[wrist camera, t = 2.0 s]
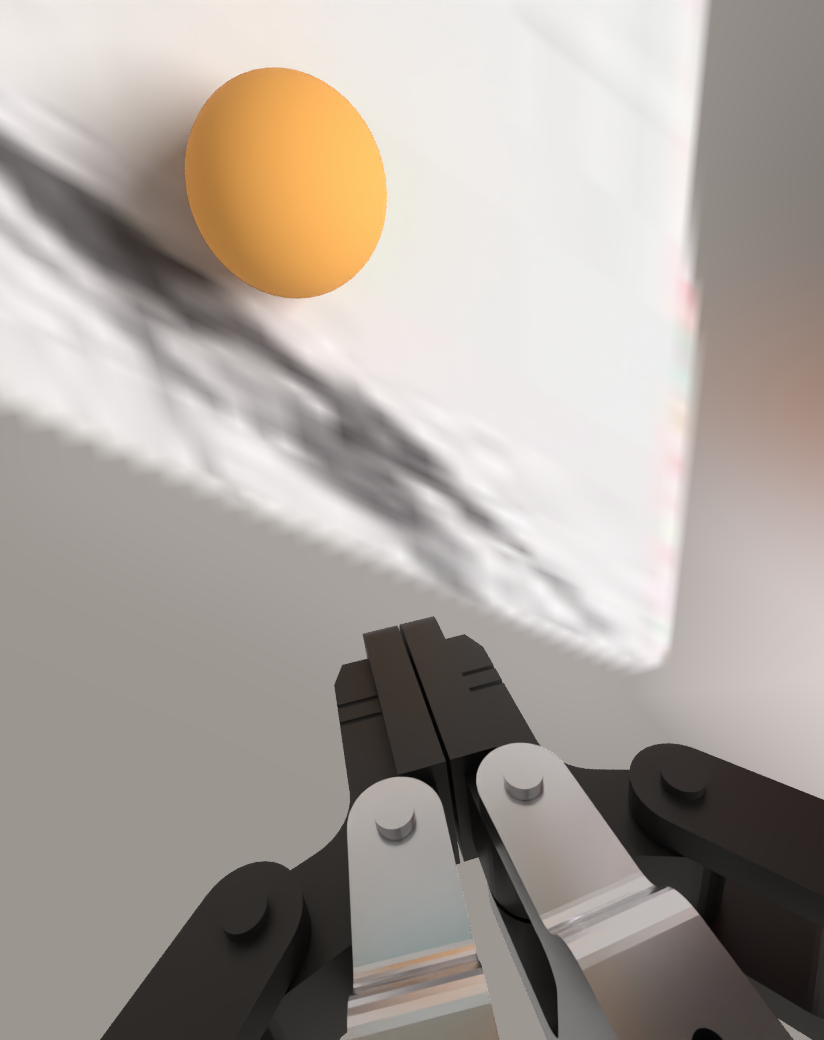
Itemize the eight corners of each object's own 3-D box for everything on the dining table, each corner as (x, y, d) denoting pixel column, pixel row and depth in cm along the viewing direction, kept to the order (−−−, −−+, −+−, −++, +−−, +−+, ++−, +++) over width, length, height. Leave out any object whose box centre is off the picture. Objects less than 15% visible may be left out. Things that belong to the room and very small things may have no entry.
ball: (175, 112, 16) (131, 37, 11) (355, 95, 17) (387, 20, 12) (225, 307, 19) (207, 315, 14) (381, 284, 19) (417, 284, 15)
